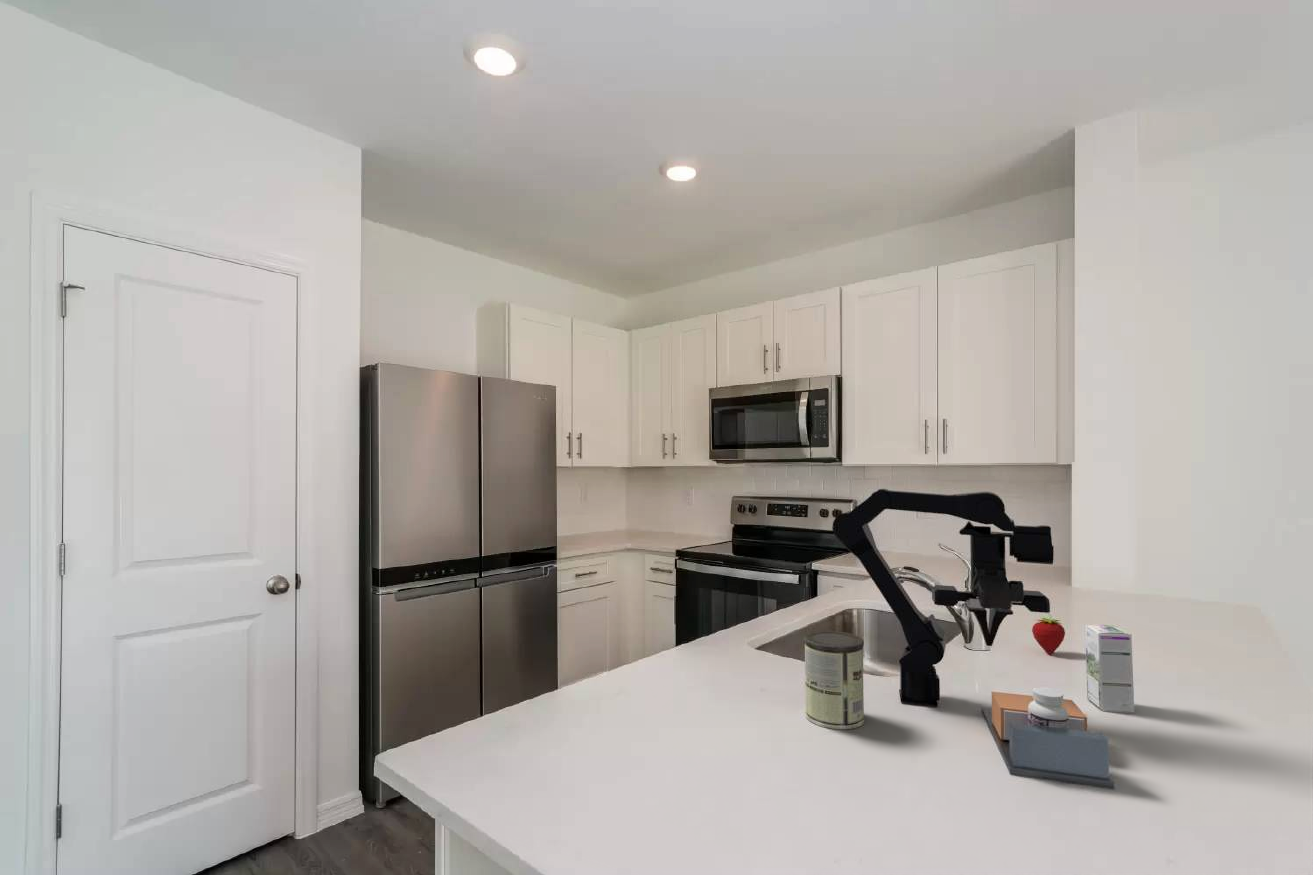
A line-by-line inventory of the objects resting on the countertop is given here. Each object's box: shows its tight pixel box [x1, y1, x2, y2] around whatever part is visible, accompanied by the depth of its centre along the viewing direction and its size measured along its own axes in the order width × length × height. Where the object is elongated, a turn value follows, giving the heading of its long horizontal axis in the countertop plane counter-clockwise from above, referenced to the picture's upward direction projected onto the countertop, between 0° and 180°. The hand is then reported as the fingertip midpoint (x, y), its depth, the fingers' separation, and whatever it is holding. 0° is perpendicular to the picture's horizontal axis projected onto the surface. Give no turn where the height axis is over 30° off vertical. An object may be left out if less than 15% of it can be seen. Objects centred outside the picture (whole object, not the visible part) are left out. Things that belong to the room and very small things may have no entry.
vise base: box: [980, 706, 1115, 790], centre depth 103 cm, size 24×13×6 cm, turn 162°
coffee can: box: [803, 630, 865, 730], centre depth 114 cm, size 10×10×14 cm
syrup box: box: [1085, 624, 1135, 714], centre depth 120 cm, size 6×6×14 cm
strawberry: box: [1031, 612, 1066, 656], centre depth 152 cm, size 6×8×10 cm
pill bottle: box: [1028, 686, 1069, 729], centre depth 97 cm, size 5×5×10 cm
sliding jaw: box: [991, 691, 1088, 740], centre depth 104 cm, size 8×12×5 cm, turn 72°
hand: (988, 645), depth 117 cm, fingers closed
